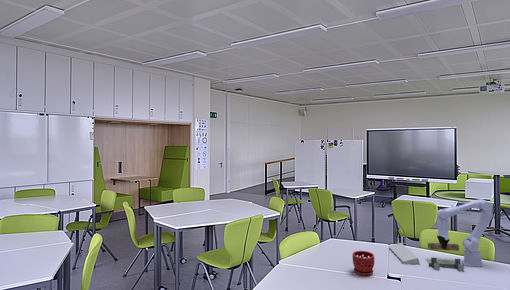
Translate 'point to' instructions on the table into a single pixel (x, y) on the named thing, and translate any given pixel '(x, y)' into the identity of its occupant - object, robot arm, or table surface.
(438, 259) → the mat
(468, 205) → the robot arm
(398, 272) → the table surface
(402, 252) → the decorative molding
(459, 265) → the standards
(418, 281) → the table surface
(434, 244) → the rail
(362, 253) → the plant pot
